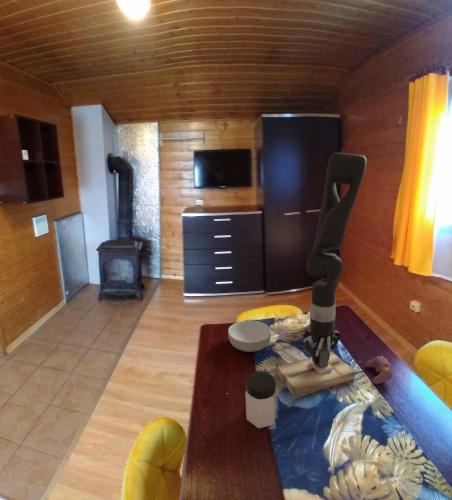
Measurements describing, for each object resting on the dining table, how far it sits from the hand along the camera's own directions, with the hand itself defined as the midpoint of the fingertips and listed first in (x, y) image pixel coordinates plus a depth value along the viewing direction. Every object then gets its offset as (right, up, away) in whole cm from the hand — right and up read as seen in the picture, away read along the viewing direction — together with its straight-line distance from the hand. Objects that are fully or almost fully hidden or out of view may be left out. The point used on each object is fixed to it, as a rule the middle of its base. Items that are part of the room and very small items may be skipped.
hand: (320, 361), depth 101 cm
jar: (-21, -11, -14) cm, 27 cm away
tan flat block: (-2, -5, +1) cm, 6 cm away
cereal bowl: (-22, -1, +20) cm, 30 cm away
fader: (0, -2, +1) cm, 2 cm away
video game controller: (+19, -5, 0) cm, 20 cm away
